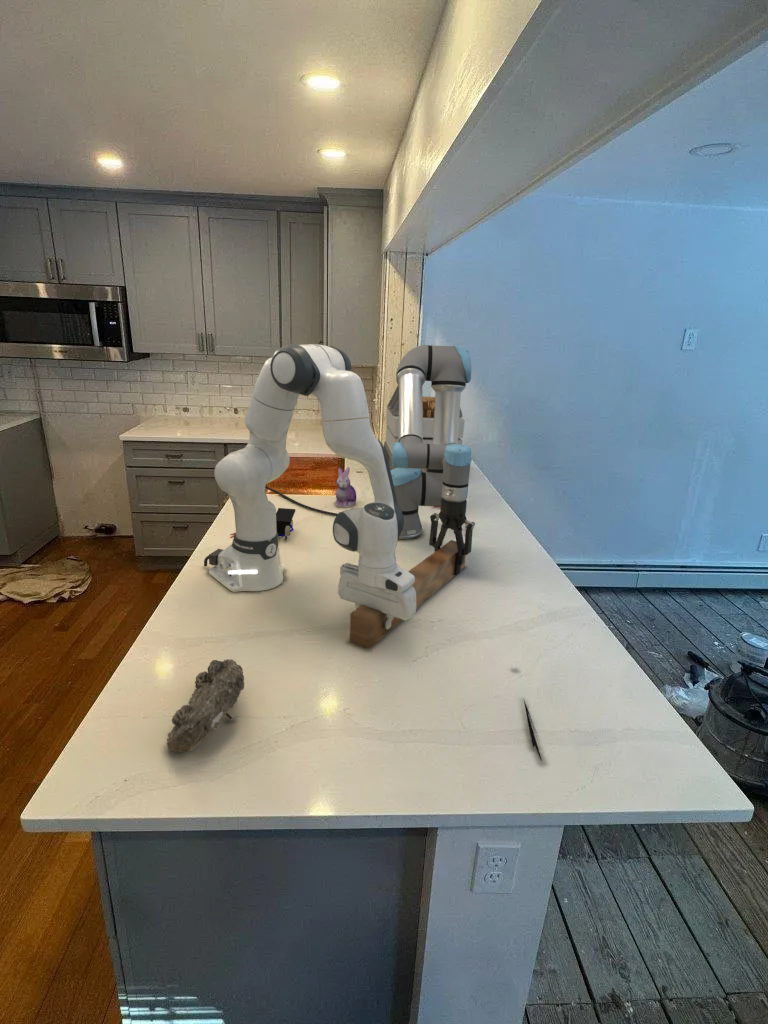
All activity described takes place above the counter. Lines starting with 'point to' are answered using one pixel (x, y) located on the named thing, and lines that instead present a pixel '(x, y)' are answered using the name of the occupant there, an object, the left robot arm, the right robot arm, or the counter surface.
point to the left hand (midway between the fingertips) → (374, 623)
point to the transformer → (428, 423)
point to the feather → (532, 731)
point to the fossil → (206, 705)
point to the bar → (427, 582)
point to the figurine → (345, 490)
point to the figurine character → (284, 522)
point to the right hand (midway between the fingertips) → (447, 570)
